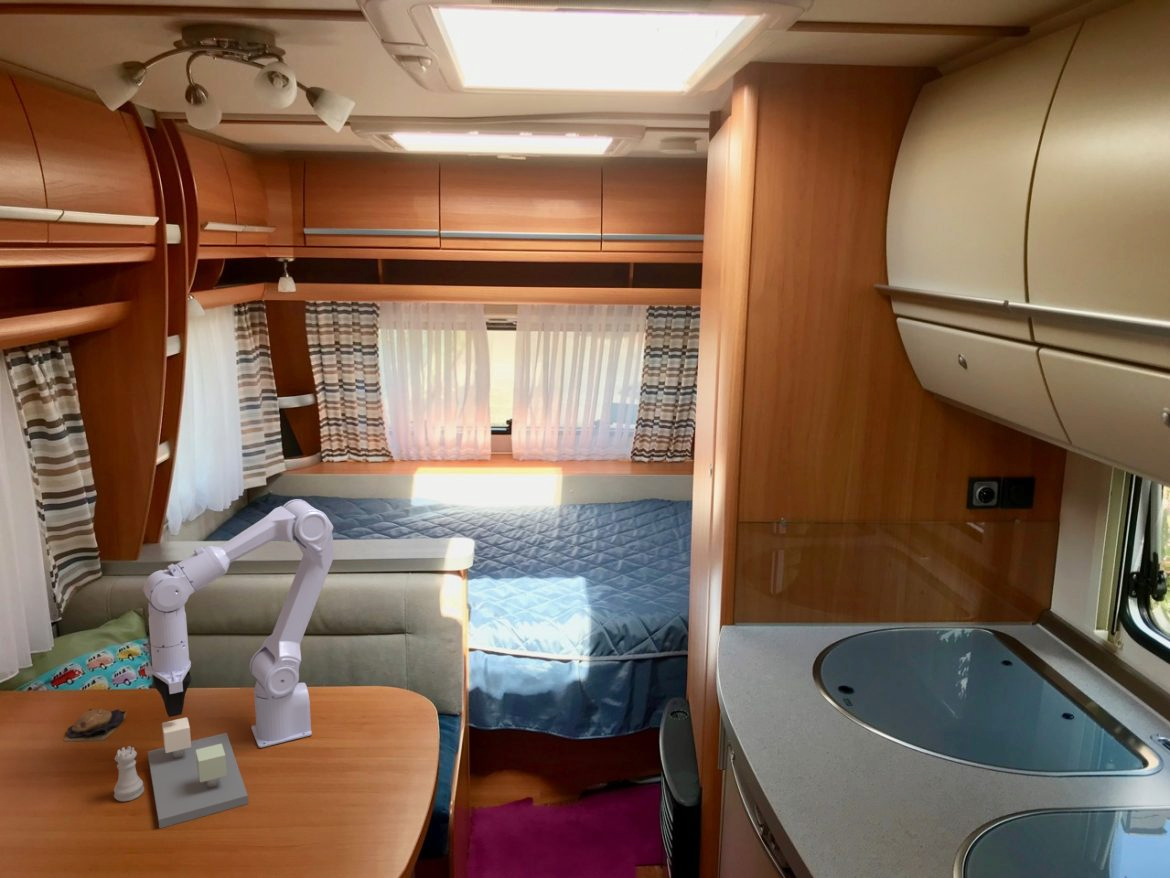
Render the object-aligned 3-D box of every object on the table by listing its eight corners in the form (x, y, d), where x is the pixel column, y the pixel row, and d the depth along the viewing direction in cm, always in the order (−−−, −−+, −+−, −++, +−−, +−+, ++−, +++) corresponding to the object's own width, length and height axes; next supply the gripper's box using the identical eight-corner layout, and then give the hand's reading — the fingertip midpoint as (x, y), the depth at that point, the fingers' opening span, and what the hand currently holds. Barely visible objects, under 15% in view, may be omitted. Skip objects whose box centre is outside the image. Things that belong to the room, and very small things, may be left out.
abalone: (105, 744, 156) (103, 726, 156) (58, 745, 156) (56, 726, 155) (133, 714, 167) (131, 697, 166) (88, 714, 166) (87, 697, 166)
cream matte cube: (188, 736, 152) (187, 717, 151) (191, 747, 149) (189, 727, 148) (163, 742, 150) (162, 722, 149) (165, 753, 147) (164, 733, 146)
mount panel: (227, 740, 158) (225, 720, 157) (248, 803, 139) (246, 781, 138) (148, 759, 151) (146, 738, 150) (159, 828, 132) (157, 805, 132)
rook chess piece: (131, 804, 138) (127, 759, 137) (107, 800, 139) (103, 756, 138) (150, 788, 143) (146, 744, 141) (127, 785, 143) (123, 741, 142)
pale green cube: (222, 763, 144) (221, 743, 143) (226, 775, 140) (225, 755, 140) (197, 770, 142) (195, 749, 141) (200, 782, 138) (198, 761, 138)
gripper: (139, 629, 150) (145, 701, 152) (146, 662, 137) (152, 739, 140) (184, 622, 153) (189, 692, 156) (194, 653, 141) (199, 728, 144)
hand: (174, 714), depth 148 cm, fingers closed
